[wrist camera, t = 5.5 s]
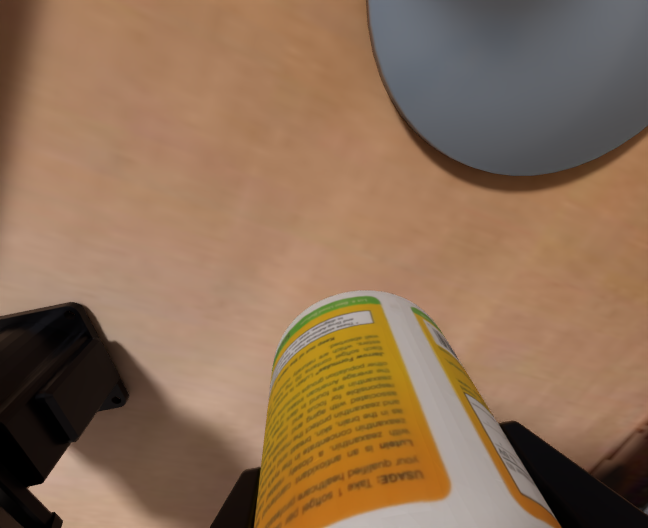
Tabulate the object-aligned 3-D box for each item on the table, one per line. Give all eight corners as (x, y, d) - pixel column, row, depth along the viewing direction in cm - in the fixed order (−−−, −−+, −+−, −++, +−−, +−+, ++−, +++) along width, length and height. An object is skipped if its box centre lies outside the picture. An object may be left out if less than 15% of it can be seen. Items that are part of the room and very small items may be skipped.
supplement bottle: (256, 406, 12) (127, 1202, 3) (301, 264, 10) (282, 1245, 1) (403, 436, 13) (615, 1131, 4) (471, 310, 11) (1125, 1104, 2)
